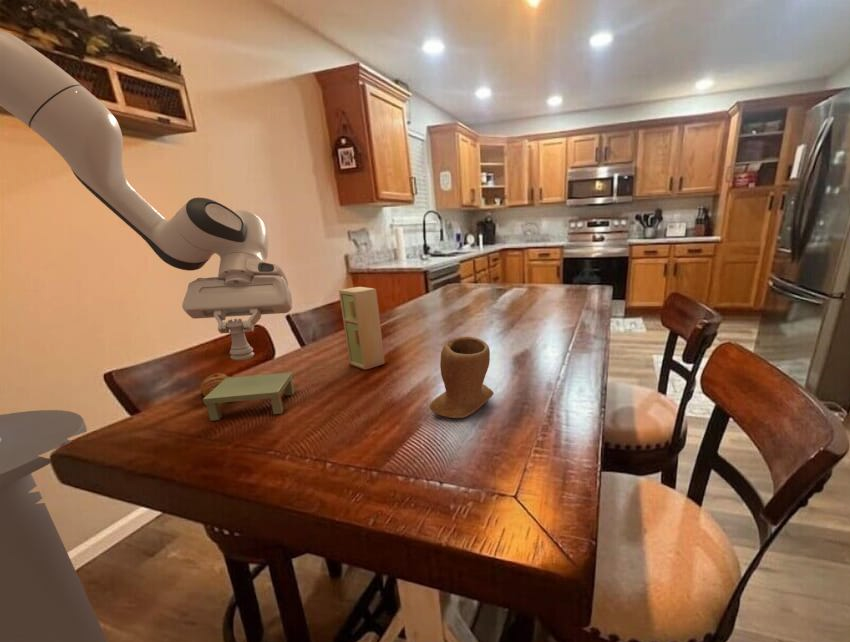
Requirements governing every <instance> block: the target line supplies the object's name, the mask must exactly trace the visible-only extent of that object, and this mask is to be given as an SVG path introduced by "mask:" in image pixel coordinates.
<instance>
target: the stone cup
mask: <svg viewBox="0 0 850 642" xmlns="http://www.w3.org/2000/svg"><path fill="white" fill-rule="evenodd" d="M439 362H440V364H439V366H440V367H439V368H440V376H441V379H442V381H443V384H444V388H445V391H444V392H443V393H441V394H440V395H439V396H437V397H435V398H434V399H433V400H432V401H431V402H430V403H429V405H428V407H429V410H430V411H431V412H433V413H434V414H436V415H439V416H442V417H445V418H449V419H451V418H453V419H463V418H466V417H468V416H470V415H472V414H474V413H475V412H476V411H478V410H479V409H480V408H481V407H483V406H484V404H486V403H487V401H489V400H490V398H492V397H493V396H494V395H495V394H494V391H493V390H492V388H489V387H488V386H487V385H485V384H484V381H485V378H486V375H487V372H488V370H489V368H490V367H489V366H490V362H491V352H490V346H489V345H488V343H486V341H484V340H482V339H480V338H478V337H474V336H458V337H454V338H451V339H449V340H448V341H447V342H446V343H445V344H444V345H443V346H442V349H441V351H440V361H439Z"/></svg>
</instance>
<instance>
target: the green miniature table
mask: <svg viewBox="0 0 850 642" xmlns="http://www.w3.org/2000/svg"><path fill="white" fill-rule="evenodd" d="M229 377H230V376H229ZM293 381H294V380H293V372H292V371H291V372H290V371H289V372H278V373H268V374H267V373H266V374H256V375H243V376H242V375H241V376H231V377H230V378H226V379H225V380H223V381H222V382H221V383H220V384H219V385H218V386H217V387H216V388H215V389H213V390H212V391H211V392H210V393H209V394H208V395H207V396H206V397H205V396H204V397H203V398H202V401H203V405H206V409H207V414H208V417H209V421H211V422H215V421H220V420H221V418H223V415H222V412H221V408H220V404H223V403H232V402H233V403H234V402H235V403H236V402H244V401H253V400H254V401H255V400H265V399H266V400H267V399H270V403H271V408H272V414H273V415H282V414H283V412H284V405H283V401H282V396H281V395H282V394H283V392H284V393H285V396H286V397H287V396H294V394H295V387H294V383H293Z"/></svg>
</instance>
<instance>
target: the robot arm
mask: <svg viewBox="0 0 850 642" xmlns="http://www.w3.org/2000/svg"><path fill="white" fill-rule="evenodd" d="M0 107H1V108H2V109H4V110H6V111H7V112H8V113H10V114H11V115H12V116H14V117H15V118H16V119H18V120H19V121H20V122H22V123H23V124H24V125H25V126H27V127H28V128H29V129H31V130H32V131H33V132H35V133H36V134H37V135H38V136H40V138H42V139H43V140H44V141H46V142H47V144H49V145H50V146H51V147H52V149H54V150H55V151H56V153H58V154H59V156H61V158H62V159H63V160H64V161H65V163H66V164H67V165H68V166H69V167H70V169H71V171H72V173H73V175H74V176H75V177H76V179H77V180H78V181H79V182H80V183H81V184H82V185H83V186H84V187H85V188H86V189H87V190H88V191H89V192H90V193H91V194H92V195H93V196H94V197H96V198H97V199H98V200H99V201H100V202H101V203H102V204H103V205H104V206H106V207H107V208H108V209H109V210H110V211H111V212H112V213H114V215H116V216H117V217H118V218H119V219H121V221H123V222H124V223H125V224H126V225H127V226H128V227H130V229H132V230H133V231H134V232H135V233H136V234H137V235H138V236H140V237H141V239H143V240H144V241H145V242H146V243H147V245H148V246H149V247H150V248H151V249H152V251H153V252H154V253H155V254H156V255H157V256H158V257H159V259H161V261H163V262H164V263H166V264H167V265H169V266H171V267H173V268H175V269H177V270H182V271H187V272H189V271H197V270H200V269H201V268H203V267H204V266H205V265H206V264H207V263H208V261H209V260H210V259H211V257H213V255H215V254H216V255H217V256H219V258H220V260H219V266H218V274H217V276H215V277H198V278H196V279H194V280H193V281H190V282H189V283H188V285H187V290H186V292H185V295H184V298H183V301H182V303H181V304H182V305H181V306H182V309H183V311H184V312H185V314H187V315H188V317H190V318H191V319H193V320H194V319H195V320H196V319H211V318H212V319H213V318H215V321H216V322H217V323H218V324H217V331H218V332H219V333H220V334H230V329H229V328H228V327H227V324H228V321H225V320H227V319H226V318H227V317H229V318H230V317H245V316H250V317H249V318H248V319H247V320H242V322H243V324H244V325H243V329H244V330H245V332H244V333H251V332H254V330H255V325H256V324H257V323H258V322H259V321H260V319H262V316H263V315H275V314H276V315H278V314H288V313H289V312H290V311H292V308H293V300H292V299H293V297H292V293H291V290H290V288H289V281H288V279H287V276H286V274H285V272H284V270H283V269H282V268H281V266H280V265H279V264H276V263H271V262H267V261H266V260H267V258H268V255H269V235H268V230H267V227H266V225H265V223H264V221H263V220H262V219H261V218H260V217H259V215H256V213H255V214H254V213H253V212H251V211H248V210H243V209H240V210H233V209H231V208H229V207H227V206H226V205H224V204H222V203H220V202H218V201H216V200H213V199H210V198H206V197H193V198H190V199H189V200H188V201H187V202H186V203H184V205H183V206H182V207H181V208H179V210H178V211H177V212H176V213H175V214H174V215H173V216H172V217H171V218H170V220H169V219H167V218H165V217H164V216H163V215H162V214H161V213H160V212H159V211H157V210H156V209H155V207H154V206H152V205H151V204H150V202H148V201H147V200H146V199H145V198H144V197H143V196H142V195H141V194H140V193H138V191H136V190H135V189H134V188H133V187H132V185H131V184H130V182H129V181H128V178H127V177H126V174H125V171H124V165H123V150H124V138H123V133H122V130H121V127H120V124H119V121H118V120H117V118H116V117H115V116H114V114H113V113H112V112H111V110H109V109H108V107H107V106H106V105H105V104H104V103H102V101H101V100H100V99H99V98H97V97H96V96H95V95H94V94H92V93H91V92H90V91H89V90H88V89H87V88H86V87H85V86H83V85H82V84H81V83H79V82H78V81H77V80H76V79H75V78H74V77H72V76H71V74H69V73H68V72H66V71H65V70H64V69H62V67H60V66H59V65H57V64H56V63H55V62H53V61H52V60H51V59H49V58H48V57H47V56H45V55H44V54H43V53H41V52H39V51H38V50H37V49H35V48H34V47H32V46H31V45H30V44H28V43H26V42H25V41H24V40H22V39H21V38H19V37H17V36H16V35H13V34H12V33H9V32H7V31H4V30H0ZM0 442H1V437H0Z"/></svg>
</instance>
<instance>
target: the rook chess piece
mask: <svg viewBox="0 0 850 642" xmlns="http://www.w3.org/2000/svg"><path fill="white" fill-rule="evenodd" d="M227 323H228V324H227V327H228V328H229V329H230V330H229V331H230V332H229V334H230V337H231V346H230V350H229V354H230V357H229V358H230V359H231V360H233V361H245V360H248V359H252V358H253V357H254V355H255V352H253V351H254V348H253V347H252V346H251V345H250V344H249V342H248V340H247V337H246V334H245V333H246V332H245V330H244V329H243V325H244V324H243V319H242V318H233V319H229V320H227Z"/></svg>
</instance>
